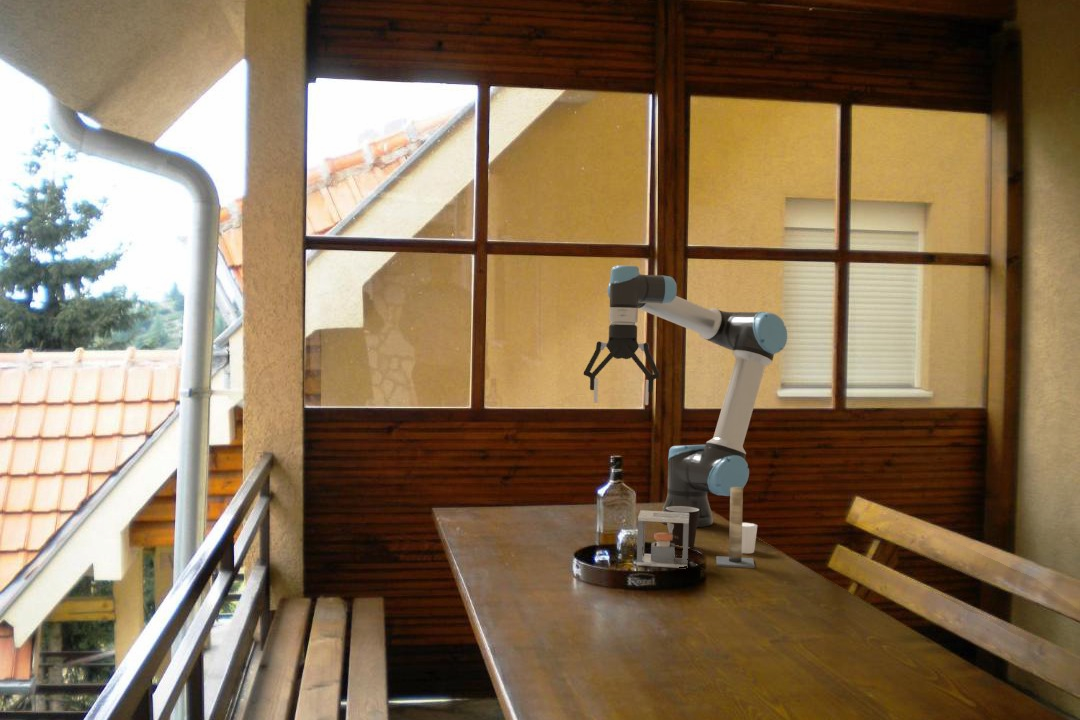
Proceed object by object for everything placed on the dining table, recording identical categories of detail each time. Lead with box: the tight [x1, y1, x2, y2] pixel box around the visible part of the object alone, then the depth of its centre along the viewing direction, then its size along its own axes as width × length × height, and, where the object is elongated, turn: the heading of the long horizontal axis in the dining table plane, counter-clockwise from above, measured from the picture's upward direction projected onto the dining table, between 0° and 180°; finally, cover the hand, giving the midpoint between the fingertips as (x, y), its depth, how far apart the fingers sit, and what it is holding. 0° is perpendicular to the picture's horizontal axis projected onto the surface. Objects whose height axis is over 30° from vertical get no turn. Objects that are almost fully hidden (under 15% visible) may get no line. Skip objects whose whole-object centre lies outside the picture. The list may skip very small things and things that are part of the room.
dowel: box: [728, 487, 744, 562], centre depth 253 cm, size 3×3×18 cm
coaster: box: [715, 555, 756, 569], centre depth 253 cm, size 9×9×1 cm
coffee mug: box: [666, 506, 699, 549], centre depth 272 cm, size 12×9×10 cm
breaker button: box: [653, 532, 673, 547], centre depth 252 cm, size 4×4×6 cm
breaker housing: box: [636, 509, 689, 569], centre depth 252 cm, size 10×12×12 cm
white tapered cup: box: [742, 521, 758, 554], centre depth 268 cm, size 7×7×7 cm
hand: (620, 403), depth 276 cm, fingers open, 13 cm apart
